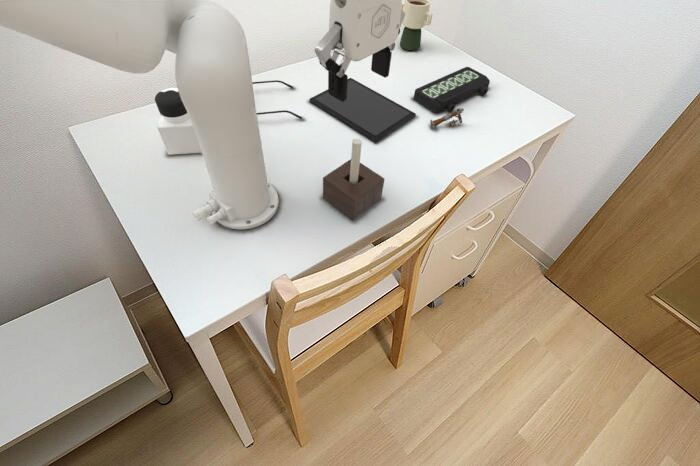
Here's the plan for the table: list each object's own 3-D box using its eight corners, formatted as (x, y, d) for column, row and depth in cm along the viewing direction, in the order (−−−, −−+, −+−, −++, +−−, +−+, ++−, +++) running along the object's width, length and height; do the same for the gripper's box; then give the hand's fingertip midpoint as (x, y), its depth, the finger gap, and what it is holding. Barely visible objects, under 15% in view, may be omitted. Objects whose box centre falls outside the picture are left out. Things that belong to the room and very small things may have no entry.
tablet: (375, 143, 86) (376, 139, 86) (309, 102, 95) (309, 98, 94) (415, 116, 94) (416, 113, 93) (350, 80, 102) (350, 77, 102)
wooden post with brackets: (466, 122, 92) (464, 108, 88) (435, 137, 93) (432, 123, 89) (463, 118, 93) (461, 104, 89) (433, 132, 94) (429, 119, 90)
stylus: (352, 202, 75) (357, 145, 64) (346, 198, 75) (350, 141, 64) (357, 198, 75) (363, 141, 65) (351, 194, 76) (356, 137, 65)
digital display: (443, 106, 92) (414, 88, 96) (440, 117, 94) (412, 99, 99) (497, 79, 101) (467, 64, 105) (493, 91, 103) (464, 75, 108)
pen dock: (353, 220, 72) (355, 200, 68) (322, 197, 75) (322, 177, 71) (381, 198, 76) (384, 178, 71) (351, 178, 79) (352, 157, 75)
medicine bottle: (203, 153, 81) (187, 103, 72) (168, 155, 80) (147, 105, 71) (205, 132, 85) (191, 83, 76) (172, 134, 84) (153, 84, 75)
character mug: (430, 50, 116) (441, 3, 106) (417, 57, 112) (426, 10, 102) (402, 37, 120) (409, -9, 110) (388, 44, 116) (394, -3, 106)
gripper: (342, -23, 39) (337, 119, 53) (437, -55, 48) (412, 74, 61) (292, -43, 42) (300, 96, 56) (390, -70, 51) (376, 57, 64)
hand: (359, 85), depth 58 cm, fingers open, 9 cm apart
